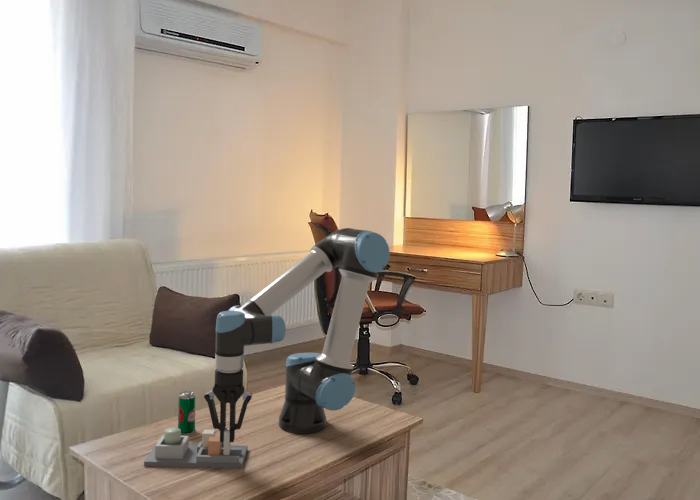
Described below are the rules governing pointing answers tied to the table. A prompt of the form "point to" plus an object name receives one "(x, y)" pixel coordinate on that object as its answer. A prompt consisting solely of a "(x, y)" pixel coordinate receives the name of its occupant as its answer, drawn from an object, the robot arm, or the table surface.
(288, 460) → the table surface
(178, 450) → the panel
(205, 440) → the knob cream
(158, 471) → the table surface
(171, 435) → the button
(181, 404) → the soda can
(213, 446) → the knob terracotta
